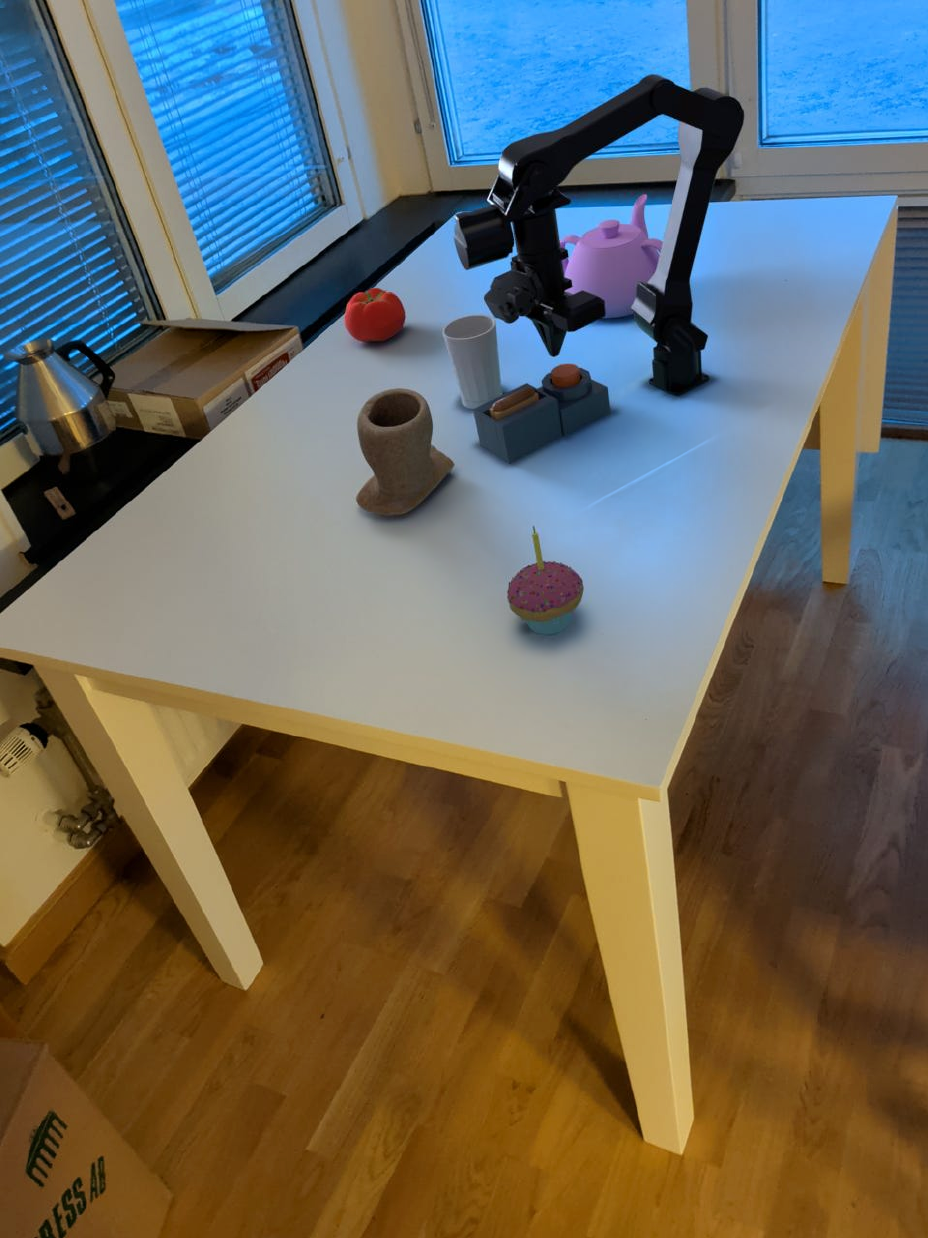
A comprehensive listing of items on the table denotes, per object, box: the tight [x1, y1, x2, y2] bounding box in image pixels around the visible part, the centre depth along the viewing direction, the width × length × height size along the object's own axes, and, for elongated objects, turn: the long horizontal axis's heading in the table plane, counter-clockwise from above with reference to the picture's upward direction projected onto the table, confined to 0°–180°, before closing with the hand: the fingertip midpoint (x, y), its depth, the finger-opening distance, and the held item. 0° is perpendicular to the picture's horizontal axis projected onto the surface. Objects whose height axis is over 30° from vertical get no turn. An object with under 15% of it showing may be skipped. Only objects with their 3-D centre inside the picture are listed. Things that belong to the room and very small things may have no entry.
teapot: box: [559, 193, 663, 319], centre depth 177 cm, size 22×22×14 cm
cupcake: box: [506, 525, 584, 636], centre depth 116 cm, size 9×8×12 cm
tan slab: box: [490, 387, 539, 421], centre depth 149 cm, size 7×2×6 cm, turn 123°
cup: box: [442, 314, 504, 410], centre depth 159 cm, size 8×8×12 cm
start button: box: [550, 363, 580, 387], centre depth 150 cm, size 4×4×2 cm
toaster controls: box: [537, 367, 611, 437], centre depth 152 cm, size 8×8×6 cm
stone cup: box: [355, 387, 455, 517], centre depth 142 cm, size 15×12×15 cm
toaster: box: [472, 382, 563, 464], centre depth 149 cm, size 9×7×6 cm
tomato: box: [343, 287, 407, 343], centre depth 186 cm, size 11×11×8 cm
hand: (554, 355), depth 147 cm, fingers closed
